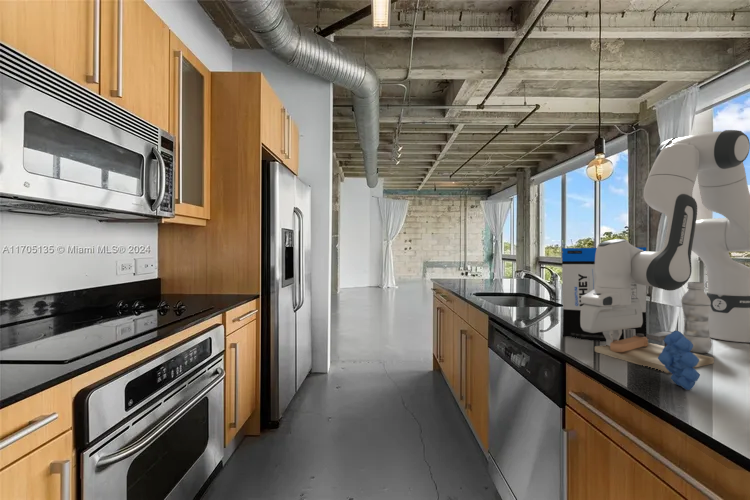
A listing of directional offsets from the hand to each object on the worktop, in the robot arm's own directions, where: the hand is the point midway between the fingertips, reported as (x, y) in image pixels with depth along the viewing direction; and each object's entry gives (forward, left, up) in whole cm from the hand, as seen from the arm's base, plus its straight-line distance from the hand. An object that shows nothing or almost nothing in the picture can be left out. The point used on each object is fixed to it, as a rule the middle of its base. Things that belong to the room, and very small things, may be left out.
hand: (612, 345), depth 110 cm
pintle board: (-7, +6, -3) cm, 10 cm away
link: (-4, +2, -1) cm, 5 cm away
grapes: (+9, +22, -3) cm, 24 cm away
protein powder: (-14, -14, -3) cm, 20 cm away
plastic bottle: (-23, +8, -3) cm, 24 cm away
